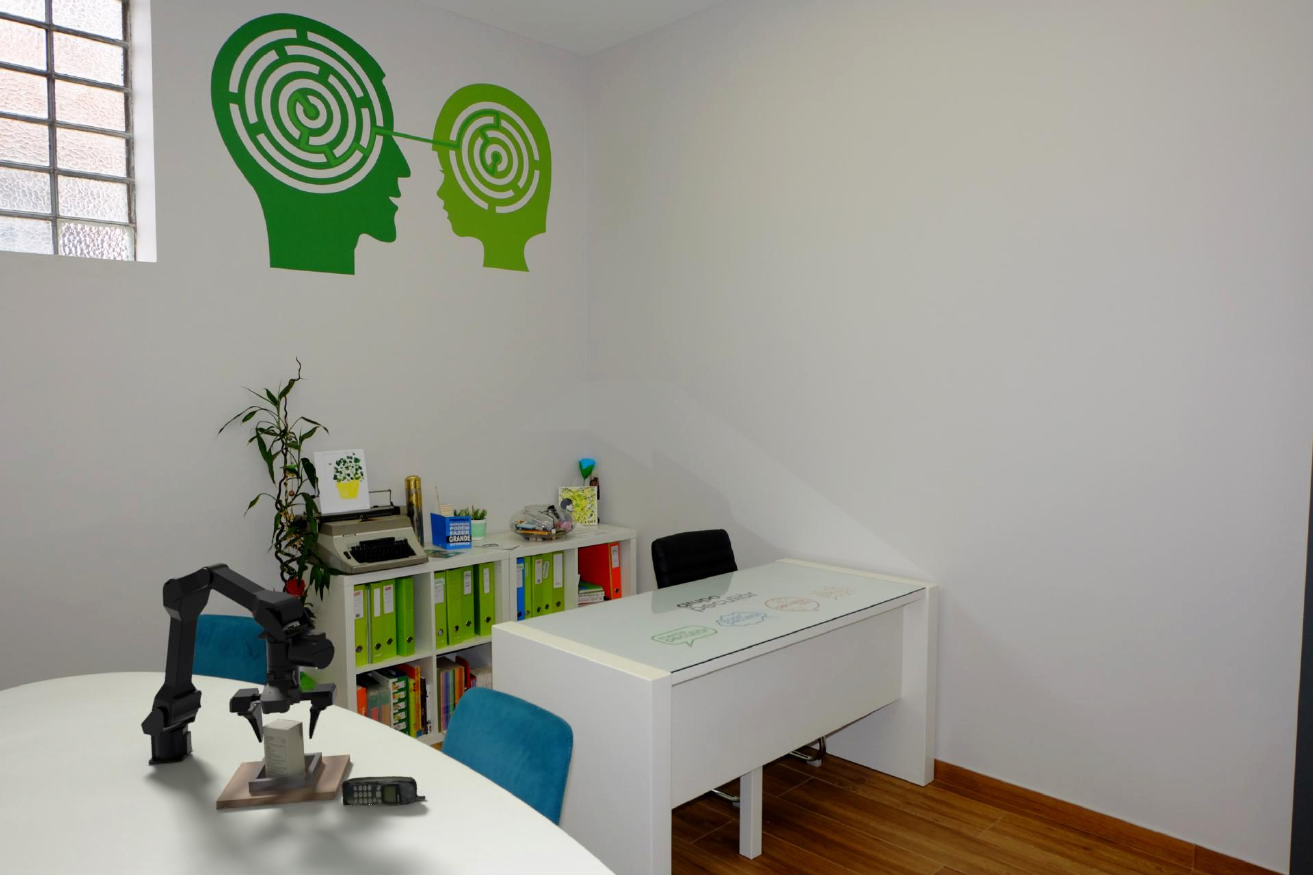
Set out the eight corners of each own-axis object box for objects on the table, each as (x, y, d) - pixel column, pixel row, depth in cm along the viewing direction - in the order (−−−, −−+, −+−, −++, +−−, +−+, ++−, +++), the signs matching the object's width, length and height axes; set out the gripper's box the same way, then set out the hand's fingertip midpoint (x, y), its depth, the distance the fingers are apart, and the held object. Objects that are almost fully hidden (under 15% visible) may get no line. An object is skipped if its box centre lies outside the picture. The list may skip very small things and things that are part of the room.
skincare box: (306, 781, 170) (304, 721, 169) (291, 791, 166) (288, 730, 165) (280, 776, 172) (278, 717, 171) (264, 786, 168) (261, 725, 167)
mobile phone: (340, 783, 160) (421, 779, 160) (345, 775, 163) (425, 771, 163) (341, 809, 160) (423, 805, 161) (346, 800, 163) (426, 797, 164)
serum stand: (216, 808, 159) (215, 790, 159) (242, 769, 175) (241, 752, 175) (335, 798, 163) (335, 781, 163) (350, 761, 179) (349, 744, 178)
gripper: (218, 679, 157) (221, 762, 159) (325, 673, 161) (328, 754, 162) (236, 659, 168) (239, 737, 169) (336, 654, 172) (339, 729, 173)
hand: (286, 739), depth 168 cm, fingers open, 9 cm apart
